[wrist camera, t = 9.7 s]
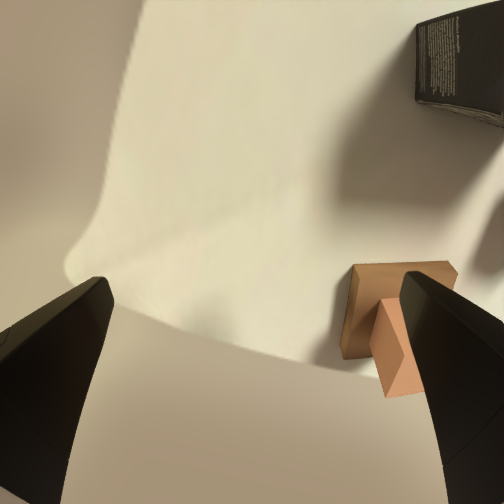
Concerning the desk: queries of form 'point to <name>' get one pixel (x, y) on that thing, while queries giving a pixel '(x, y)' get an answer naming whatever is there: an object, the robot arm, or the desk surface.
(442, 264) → the walnut slab
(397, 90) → the desk surface
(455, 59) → the small box
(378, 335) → the terracotta cube
